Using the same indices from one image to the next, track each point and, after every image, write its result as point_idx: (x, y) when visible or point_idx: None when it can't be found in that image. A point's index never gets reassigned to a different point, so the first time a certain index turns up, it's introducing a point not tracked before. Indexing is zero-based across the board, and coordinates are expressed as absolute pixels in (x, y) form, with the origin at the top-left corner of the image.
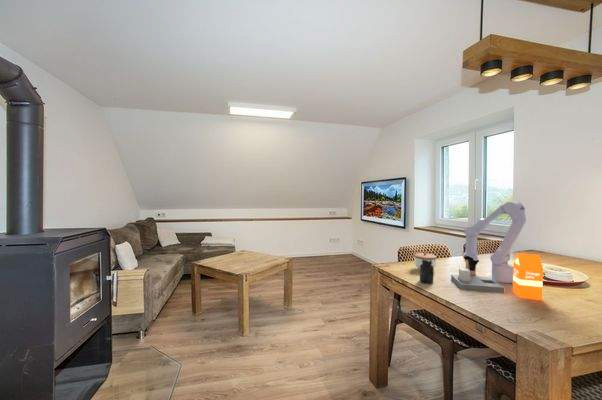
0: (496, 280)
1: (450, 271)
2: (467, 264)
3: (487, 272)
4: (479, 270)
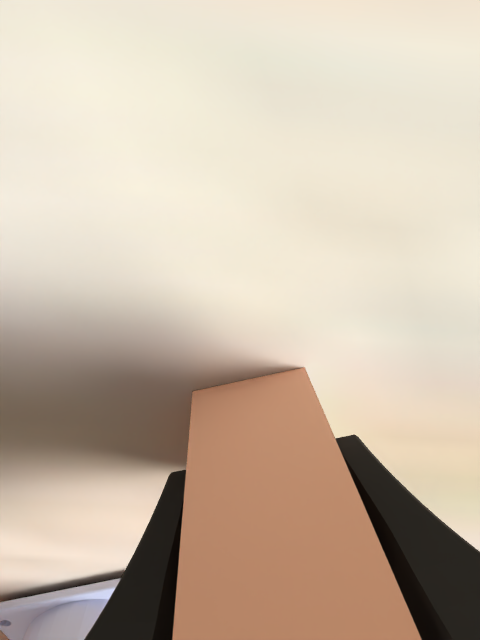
0: (26, 624)
1: (253, 89)
2: (235, 538)
3: None
4: (463, 514)
